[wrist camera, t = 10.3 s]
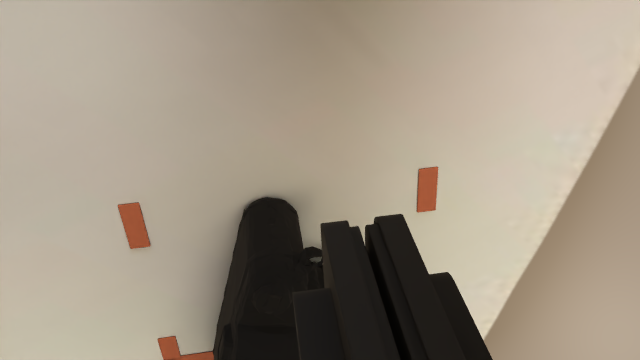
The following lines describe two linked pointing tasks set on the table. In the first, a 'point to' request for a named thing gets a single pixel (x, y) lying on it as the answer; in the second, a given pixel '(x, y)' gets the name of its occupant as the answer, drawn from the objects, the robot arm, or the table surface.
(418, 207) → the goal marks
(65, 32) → the table surface
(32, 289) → the table surface
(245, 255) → the film camera
